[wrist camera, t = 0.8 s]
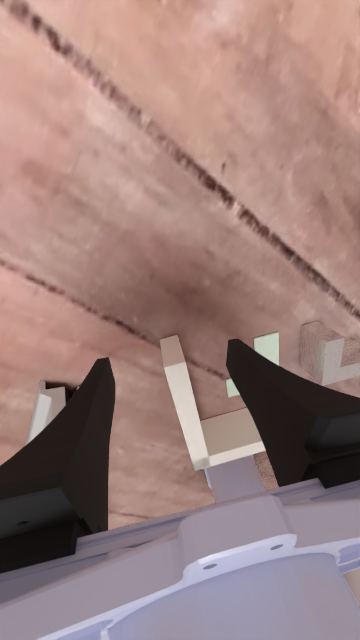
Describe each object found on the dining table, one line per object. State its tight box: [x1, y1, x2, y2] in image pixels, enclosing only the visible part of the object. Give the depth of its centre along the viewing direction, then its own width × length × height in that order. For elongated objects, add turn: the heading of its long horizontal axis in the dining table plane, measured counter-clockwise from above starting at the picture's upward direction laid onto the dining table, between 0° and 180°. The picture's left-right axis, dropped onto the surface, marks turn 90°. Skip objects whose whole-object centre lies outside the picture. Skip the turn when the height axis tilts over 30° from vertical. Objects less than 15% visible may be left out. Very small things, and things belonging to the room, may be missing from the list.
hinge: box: [25, 380, 80, 446], centre depth 24 cm, size 17×5×10 cm, turn 157°
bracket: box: [300, 321, 360, 386], centre depth 26 cm, size 7×6×4 cm
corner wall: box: [160, 335, 266, 471], centre depth 26 cm, size 16×18×5 cm
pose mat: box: [225, 332, 279, 398], centre depth 28 cm, size 8×7×1 cm
